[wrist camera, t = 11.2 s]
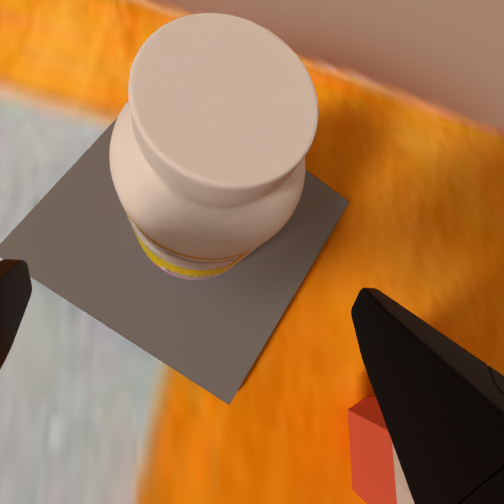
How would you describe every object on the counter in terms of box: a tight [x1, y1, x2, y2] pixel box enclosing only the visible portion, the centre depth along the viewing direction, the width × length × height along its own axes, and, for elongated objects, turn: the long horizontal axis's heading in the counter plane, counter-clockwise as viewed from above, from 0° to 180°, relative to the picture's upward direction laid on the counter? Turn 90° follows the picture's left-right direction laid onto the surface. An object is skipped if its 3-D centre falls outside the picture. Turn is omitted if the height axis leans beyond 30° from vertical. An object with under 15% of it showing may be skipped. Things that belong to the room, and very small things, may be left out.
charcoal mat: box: [0, 119, 349, 404], centre depth 21 cm, size 15×15×1 cm
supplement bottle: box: [109, 13, 319, 280], centre depth 14 cm, size 7×7×13 cm
